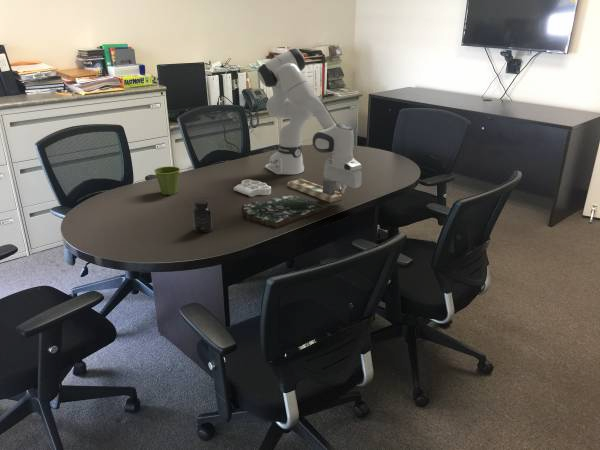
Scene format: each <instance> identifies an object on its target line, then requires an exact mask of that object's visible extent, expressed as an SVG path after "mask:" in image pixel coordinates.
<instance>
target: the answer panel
mask: <svg viewBox="0 0 600 450" xmlns="http://www.w3.org/2000/svg"><path fill="white" fill-rule="evenodd" d="M287 187H289V188H291V189H294V190H297V191H299V192H301V193H305V194H306V195H308V196H309V195H310V196H312V197H314V196H315V197H314V198H318V199H320V200H322V201H325V202H327V203H334V202H337V201H341V200H343V199H342V198H343V195H342V194H341V192H338V190H337V191H336V190H335V193H334V194H331V195H328V194H326V193H323V185H320V184H316V183H314V182H312V181H308V180H306V179H303V178H300V177H299V178H298V179H296V180H289V181H288V182H287Z"/></svg>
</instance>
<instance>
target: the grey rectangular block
mask: <svg viewBox="0 0 600 450" xmlns="http://www.w3.org/2000/svg"><path fill="white" fill-rule="evenodd" d="M322 186H323V193H326V194H328V195H331V194H334V193H335V191H336V181H333V180H330V179H327V178H325V179H322Z"/></svg>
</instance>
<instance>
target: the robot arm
mask: <svg viewBox="0 0 600 450" xmlns="http://www.w3.org/2000/svg"><path fill="white" fill-rule="evenodd" d="M305 68H306V60H305V57H304V55H303V52H301V51H300V49H297V48H290V49H288V50H287V51H285V52H282V53H280V54H278V55H276V56H275V57H273V58H271V59H270V60H268V61H267V62H265V63H263V64H261V65H260V66H259V67H258V70H257V74H258V79H259V80H260V82H261V84H263V85H264V86H265V87H267V88H271V89H272V96H270V97H269V98H268V100H267V101H266V111H267V113H268V115H269V116H272V117H275V118H279V119H281V118H282V119H289V123H288V124H286V125H284V126H282V128H281V129H280V131H279V144H277V145H276V148H277V151H276V152H275V153H273V154H272V155H271V156H270V157H269V162H268V163H267V164H266V165H265V166H264V168H265V169H267V170H269V171H271V172H272V173H274V174H276V175H298V174H301V173H303V172H305V170H304V169H305V165H304V160H303V153H302V152H303V146H302V132H303V128H304V126H305V124H306V123H307V121H308V120H310V119H312V117H315V118H316V119H317V122H318V123H319V125H320V126H321V127H322V130H319V131H317V132H316V133H315V134H313V137H312V140H311V141H312V146H313V148H314V149H315V151H317V153H331V154H332V158H331V157H328V158H326V159H325V162H324V163H325V164H324V168H323V177H324V178H325V179H330V180H333V181H335V186H336V188H337V192H339V193H340V194H344V193H346V189H347V187H351V188H353V189H357V188H359V187H361V186H362V181H363V180H362V179H363V175H362V170H361V169H362V167H363V166H362V163H360V162H359V161H358V160H357V159H356V158H354V153H353V152H354V151H353V149H354V143H355V141H354V137H355V135H354V130H353V128H352V126H351V125H349V124H346V123H338V122H337V121H336V120H335V118H334V117H333V116H332V114H331V113H330V110H329V109H328V107H327V106H326V105H325V104H324V102H323V101H322V99H320V97H319V96H318V95H317V94H316V93H315V91H314V90H313V88H312V87H311V84H310V83H309V81H308V80H307V78H306V76H305V75H304V73H303V72H302V71H303V70H304V69H305Z"/></svg>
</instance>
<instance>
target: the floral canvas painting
mask: <svg viewBox="0 0 600 450" xmlns="http://www.w3.org/2000/svg"><path fill="white" fill-rule="evenodd" d="M241 209H242V210H243V211H241V216H242V218H243V217H244V218H245V219H246V220H247V221H252V222H256V223H260V225H265V226H266V227H273V228H275V229H278V228H280V227H283V226H285V225H288V224H291V223H294V222H297V221H300V220H302V219H305V218H308V217H310V216H312V215H315V213H316V214H318V213H321V212H324V211H326V210H328V206H326V205H323V204H321V203H319V202H315V201H313V200H310V199H307V198H303V197H301V196H298V195H295V194H291V193H290V194H288V195H282V196H278V197H274V198H270V199H267V200H263V201H255V202H251V203H247V204H244V205H241Z"/></svg>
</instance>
